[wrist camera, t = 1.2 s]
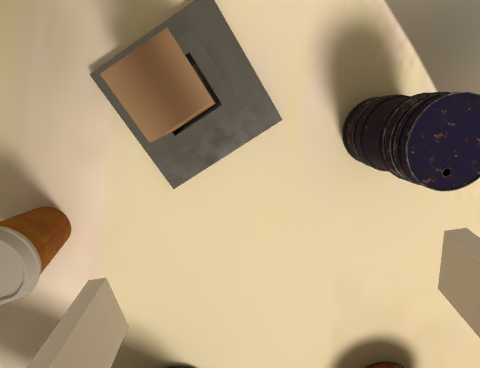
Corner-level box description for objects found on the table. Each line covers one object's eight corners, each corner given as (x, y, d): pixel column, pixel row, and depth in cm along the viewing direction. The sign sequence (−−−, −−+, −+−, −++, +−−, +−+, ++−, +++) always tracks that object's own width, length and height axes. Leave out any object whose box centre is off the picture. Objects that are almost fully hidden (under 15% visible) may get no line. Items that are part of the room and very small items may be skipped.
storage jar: (348, 92, 41) (419, 84, 26) (413, 99, 42) (517, 95, 27) (336, 162, 43) (395, 189, 29) (398, 166, 44) (485, 195, 30)
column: (184, 126, 38) (149, 144, 19) (161, 91, 37) (97, 73, 18) (217, 104, 38) (215, 101, 19) (194, 68, 37) (167, 24, 17)
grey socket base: (175, 186, 42) (162, 209, 33) (94, 75, 38) (51, 64, 28) (280, 119, 41) (298, 122, 31) (209, -5, 36) (205, -45, 27)
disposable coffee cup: (12, 249, 43) (-63, 301, 32) (16, 189, 41) (-64, 222, 29) (79, 261, 44) (29, 315, 33) (86, 203, 42) (35, 240, 31)
